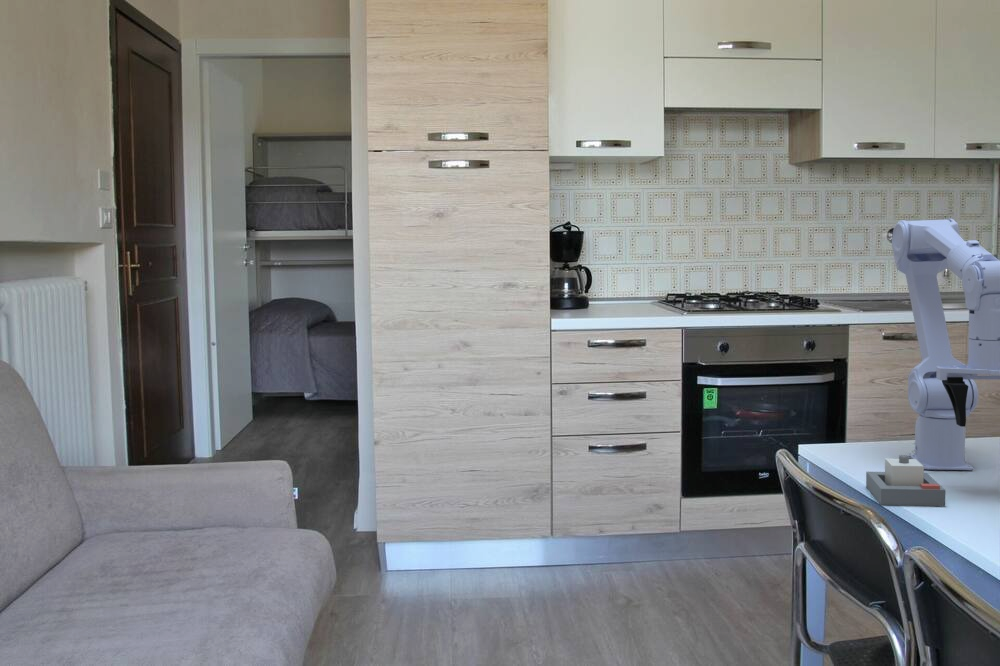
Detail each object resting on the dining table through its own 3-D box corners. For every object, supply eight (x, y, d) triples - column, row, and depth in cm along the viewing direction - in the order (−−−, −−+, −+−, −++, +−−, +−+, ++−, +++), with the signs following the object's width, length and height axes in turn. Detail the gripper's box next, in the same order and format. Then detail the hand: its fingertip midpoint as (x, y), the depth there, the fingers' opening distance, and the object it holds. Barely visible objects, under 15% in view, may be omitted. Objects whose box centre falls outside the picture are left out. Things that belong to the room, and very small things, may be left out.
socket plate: (866, 486, 141) (866, 468, 140) (926, 487, 139) (926, 469, 139) (880, 504, 131) (880, 485, 130) (945, 506, 129) (945, 486, 129)
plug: (884, 489, 138) (885, 452, 137) (915, 490, 137) (915, 452, 136) (891, 497, 133) (891, 459, 133) (923, 498, 132) (923, 459, 132)
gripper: (946, 342, 131) (945, 430, 133) (1052, 340, 129) (1050, 431, 130) (932, 337, 138) (931, 421, 140) (1033, 335, 135) (1030, 421, 137)
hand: (987, 425), depth 135 cm, fingers open, 7 cm apart
